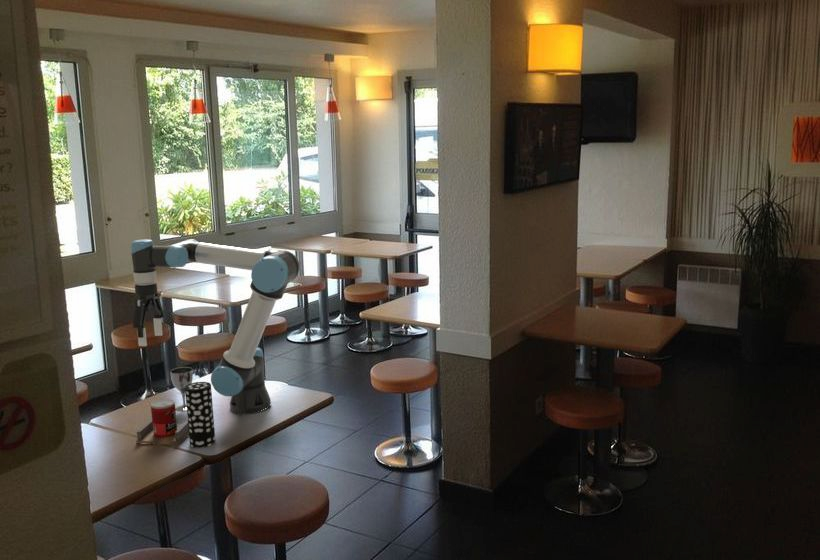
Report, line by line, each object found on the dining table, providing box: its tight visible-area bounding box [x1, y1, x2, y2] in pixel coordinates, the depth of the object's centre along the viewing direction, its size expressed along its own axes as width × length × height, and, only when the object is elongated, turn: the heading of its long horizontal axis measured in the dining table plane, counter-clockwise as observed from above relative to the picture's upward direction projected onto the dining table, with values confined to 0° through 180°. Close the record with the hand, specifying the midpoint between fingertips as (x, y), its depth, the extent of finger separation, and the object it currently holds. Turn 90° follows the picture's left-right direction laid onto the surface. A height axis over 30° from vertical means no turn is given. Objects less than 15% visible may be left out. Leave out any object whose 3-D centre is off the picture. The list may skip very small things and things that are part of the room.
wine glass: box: [170, 366, 194, 412], centre depth 283 cm, size 8×8×15 cm
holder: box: [135, 418, 189, 446], centre depth 257 cm, size 15×13×4 cm
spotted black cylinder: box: [185, 381, 216, 449], centre depth 250 cm, size 8×8×20 cm
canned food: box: [150, 398, 178, 437], centre depth 256 cm, size 8×8×11 cm
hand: (151, 340), depth 271 cm, fingers open, 13 cm apart
